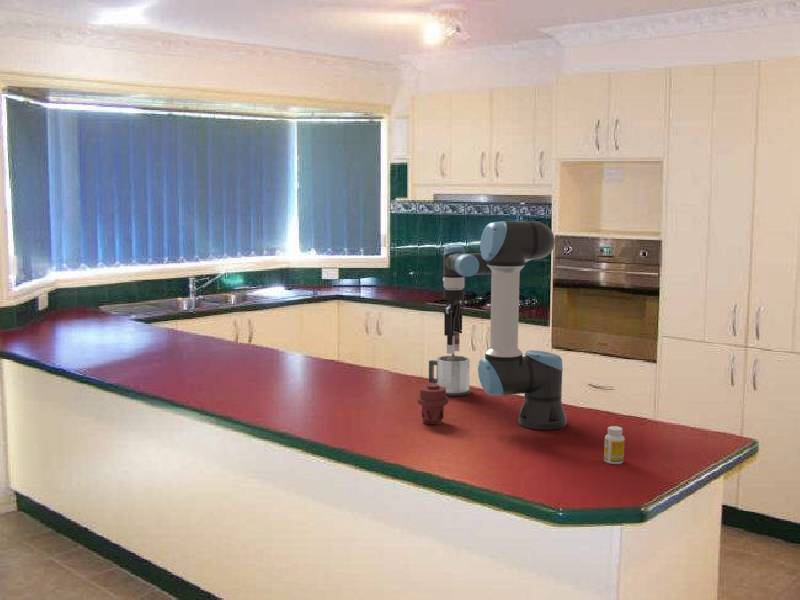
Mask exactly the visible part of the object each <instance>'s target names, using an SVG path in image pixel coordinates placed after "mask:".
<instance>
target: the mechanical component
mask: <svg viewBox="0 0 800 600" xmlns="http://www.w3.org/2000/svg"><path fill="white" fill-rule="evenodd" d="M416 401H417V404H418V405H420V406H421V419H422V424H424V425H428V424H429V425H442V420H443V419H444V418H445V415H444V414H445V408H444V407H445V406H447V405H448V404H449V403H450V402H449V396H446V388H445V387H442V386H439V385H438V384H437V383H428V384H427V385H423V386H421V387H420V388H419V396H417V399H416Z"/></svg>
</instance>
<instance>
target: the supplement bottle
mask: <svg viewBox="0 0 800 600" xmlns="http://www.w3.org/2000/svg"><path fill="white" fill-rule="evenodd" d="M623 431H624V430H623V427H620V426H617V425H610V426H608V427H607V433H606V435H605V436H604V443H603V444H604V445H603V446H604V447H603V448H604V449H603V460H604V462H605V463H607V464H611V465H621V464H623V463H624V461H625V459H624V457H625V440H626V439H625V436H624V435H623V433H624V432H623Z"/></svg>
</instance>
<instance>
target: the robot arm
mask: <svg viewBox="0 0 800 600" xmlns="http://www.w3.org/2000/svg"><path fill="white" fill-rule="evenodd" d="M555 240H556V239H555V235H554V233H553V231H552V229H550V227H549V226H547V225H546V224H545V223H542V222H541V221H540V222H539V221H535V220H532V221H531V220H528V221H520V220H519V221H516V220H515V221H505V220H502V221H501V220H500V221H494V222H490V223H488V224H487V225H486V226H485V227H484V229H483V232H482V233H481V237H480V242H479V250H480V252H478V253H476V252H475V253H466V250H465V247H464V246H463V245H457V244H456V245H452V244H451V245H445V247H444V249H443V255H442V257H443V278H442V282H443V288H444V289H443V291H442V292H443V293H442V294H443V295H442V296H443V297H442V298H443V299H444V300H445V301H447V303H446V307H444V308H443V315H444V320H443V321H444V325H443V326H444V327H443V329H444V334H443V335H444V336H446V354H448V355H449V354H450V355H452V354H455V352H460V350H461V349H460V346H461V345H460V342H461V341H460V340H461V339H460V337H461V335H460V334H463V331H462V330H463V309H464V304H463V303H461V301H463V300H464V299H465V289H464V288H465V277H473V276H477V275H478V276H479V275H481V276H483V275H491V282H490V284H491V285H490V286H491V287H490V289H491V290H490V294H491V295H490V332H489V333H490V334H489V336H490V338H489V339H490V340H489V341H490V342H489V347H488V348H487V349H486V350H485V353H484V357H483V358H481V359H480V360H479V362H478V364H477V373H478V375H477V376H478V379H479V383H480V386H481V389H483V391H484V392H485V393H486V394H487V395H489V396H501V397H502V396H508V395H522V394H524V400H523V403H522V405H521V408H520V411H519V414H518V424H519V425H520V426H522V427H523V428H527V429H531V430H540V431H552V430H560V429H564V428H566V426H567V415H566V412H565V409H564V404H563V402H562V394H563V393H562V392H563V391H562V390H563V388H562V387H563V371H564V368H563V359H562V357H561V356H560V355H559V354H557V353H552V352H549V351H543V350H534V349H533V350H526V351H525V353H524V354H523V351H522V350H520V348H519V345H518V344H519V318H520V317H519V313H520V312H519V309H520V308H519V307H520V276H521V273H520V272H521V270H522V269H524V267H525V266H526V263H527V262H529V261H532V260H533V261H536V260H537V261H538V260H541V259H544V258H546V257H547V256H549V255H550V254H551V253H552V251H553V250H554V248H555V243H556V241H555ZM454 331H457V332H459V344H455V336H453V335H454ZM523 355H524V356H523Z"/></svg>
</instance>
